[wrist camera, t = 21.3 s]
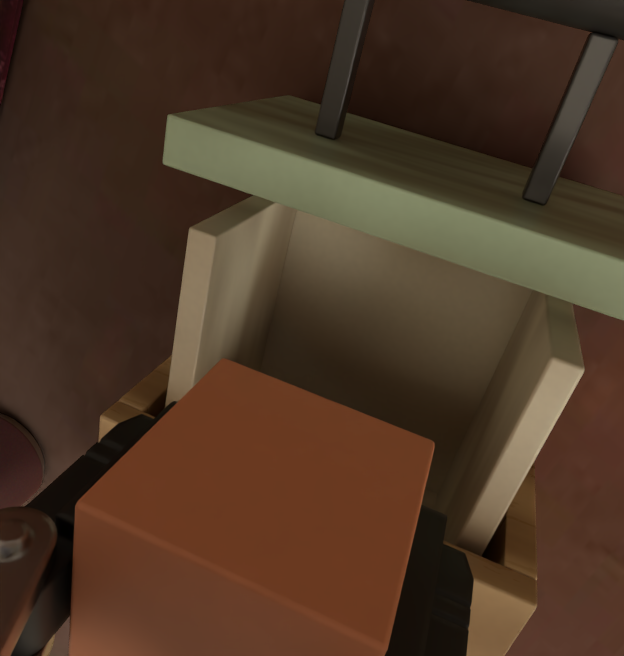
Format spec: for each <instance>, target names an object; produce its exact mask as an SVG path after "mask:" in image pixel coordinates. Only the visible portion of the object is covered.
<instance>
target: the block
mask: <svg viewBox="0 0 624 656" xmlns="http://www.w3.org/2000/svg"><path fill="white" fill-rule="evenodd" d="M434 448H435V444H434V442H433V441H432V440H430V439H427V438H425V437H422V436H419V435H417V434H414V433H412V432H409V431H407V430H404V429H402V428H399V427H397V426H394V425H392V424H389V423H387V422H384V421H382V420H379V419H377V418H374V417H372V416H369V415H367V414H364V413H362V412H359V411H357V410H354V409H352V408H349V407H347V406H344V405H341V404H339V403H336V402H334V401H331V400H329V399H326V398H324V397H321V396H319V395H316V394H314V393H311V392H309V391H306V390H304V389H301V388H299V387H296V386H294V385H291V384H289V383H286V382H284V381H281V380H279V379H276V378H274V377H271V376H268V375H266V374H263V373H261V372H258V371H256V370H253V369H251V368H248V367H246V366H243V365H241V364H238V363H236V362H233V361H231V360H228V359H225V358H223V359H221V360H220V361H219V362H218V363H217V364H216V365H215V366H214V367H213V368H212V369H211V370H210V371H209V372H208V373H207V374H206V375H205V376H204V377H203V378H202V379H201V380H200V381H199V382H198V383H197V384H195V385H194V386H193V387H192V388H191V389H190V390H189V391H188V392H187V393H186V394H185V395H184V396H183V397H182V398H181V399H180V400H179V401H178V402H177V403H176V404H175V405H174V406H173V407H172V408H171V409H170V410H169V411H168V412H167V413H166V414H165V415H164V416H163V417H162V418H161V419H160V420H159V421H158V422H157V423H156V424H155V425H154V426H153V427H152V428H151V429H150V430H149V431H148V432H147V433H146V434H145V435H144V436H143V437H142V438H141V439H140V440H139V441H138V442H137V443H136V444H135V445H134V446H133V447H132V448H131V449H130V450H129V451H128V452H127V453H126V454H125V455H124V456H123V457H122V458H121V459H120V460H119V461H118V462H117V463H116V464H115V465H114V466H113V467H112V468H111V469H109V470H108V471H107V472H106V473H105V474H104V475H103V476H102V477H101V478H100V479H99V480H98V481H97V482H96V483H95V484H94V485H93V486H92V487H91V488H90V489H89V490H88V491H87V492H86V493H85V494H84V495H83V496H82V497H81V498H80V499H79V500H78V502H77V503H76V506H75V521H74V543H73V565H72V587H71V609H70V631H69V653H68V656H385V654H386V652H387V650H388V646H389V642H390V637H391V633H392V629H393V624H394V620H395V616H396V611H397V607H398V603H399V599H400V594H401V590H402V586H403V581H404V577H405V573H406V568H407V564H408V560H409V556H410V551H411V547H412V543H413V538H414V534H415V530H416V525H417V521H418V517H419V512H420V508H421V504H422V500H423V495H424V491H425V487H426V482H427V478H428V474H429V469H430V465H431V461H432V457H433V452H434Z"/></svg>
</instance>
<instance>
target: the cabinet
mask: <svg viewBox="0 0 624 656" xmlns="http://www.w3.org/2000/svg"><path fill="white" fill-rule="evenodd" d="M171 359H172V355H171V356H170V357H169V358H168V359H166V360H165V361H164V362H163V363H162V364H160V365H159V366H158V367H157V368H156V369H155V370H153V371H152V372H151V373H150V374H149V375H147V376H146V377H145V378H144V379H143V380H142V381H140V382H139V383H138V384H137V385H136V386H134V387H133V388H132V389H131V390H130V391H128V392H127V393H126V394H125V395H124V396H123V397H121V398H120V399H119V401H118V402H116V403H115V404H113V405H112V406H111V407H110V408H109V409H107V410H106V411H105V412H104V413H103V414H101V416H100V423H99V438H98V443H99V442H100V440H101V438H102V437H103V436H105V435H106V434H107V433H108V432H109V431H110V430H111V429H112V428H113V427H115V426H116V425H117V424H118V423H120V422H123V421H125V420H128V419H130V418H132V417H135V416H137V415H140V414H144V415H146V416H148V417H151V418H153V419H154V418H155V417H156V416H157V415H158V414H159V413H160V412H161V411H162V410H163V409H164V408H165V403H166V396H167V389H168V381H169V374H170V366H171ZM443 544H445V545H448V546H450V547H452V548H455V549H457V550H459V551H462V552H464V553H465V554H466V557H467V560H468V563H469V566H470V569H471V572H472V575H473V578H474V584H473V594H472V604H471V607H470V609H471V614H470V624H469V627H468V630H469V634H468V645H467V655H466V656H504V655H505V654H506V652H507V651H508V649H509V648H510V646H511V645H512V643H513V642H514V640H515V639H516V637H517V636H518V634H519V633H520V632H521V630H522V629H523V627H524V626H525V624H526V623H527V621H528V620H529V618H530V617H531V615H532V614H533V612H534V611H535V609H536V608H537V582H536V580H537V549H536V505H535V462H534V463H533V464H532V466H531V468H530V470H529V472H528V473H527V475H526V477H525V479H524V481H523V482H522V484H521V486H520V488H519V490H518V491H517V493H516V495H515V497H514V499H513V500H512V502H511V504H510V506H509V507H508V509H507V511H506V513H505V515H504V516H503V518H502V520H501V522H500V524H499V525H498V527H497V529H496V531H495V533H494V534H493V536H492V538H491V540H490V542H489V543H488V545H487V547H486V549H485V550H484V552H483V554H482V556H479V555H477V554H474V553H472V552H470V551H467V550H465V549H463V548H460V547H458V546H456V545H453V544H451V543H449V542H446V541H443Z"/></svg>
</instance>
